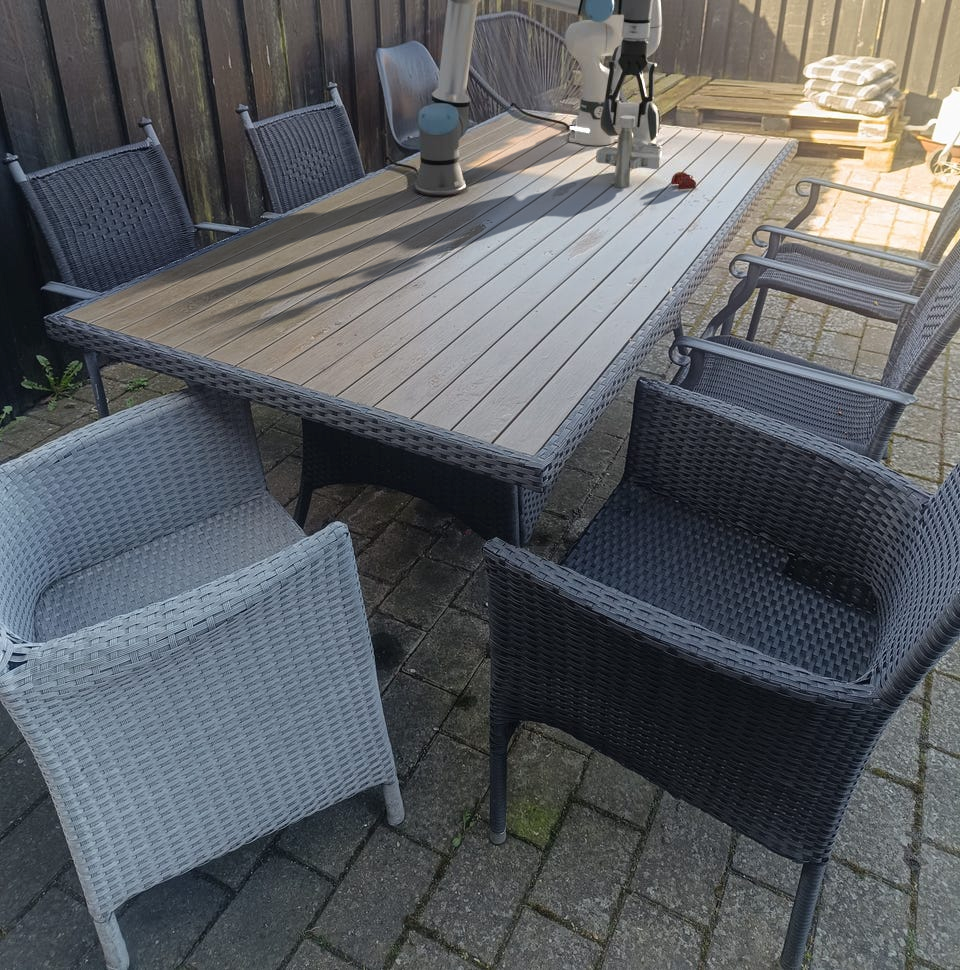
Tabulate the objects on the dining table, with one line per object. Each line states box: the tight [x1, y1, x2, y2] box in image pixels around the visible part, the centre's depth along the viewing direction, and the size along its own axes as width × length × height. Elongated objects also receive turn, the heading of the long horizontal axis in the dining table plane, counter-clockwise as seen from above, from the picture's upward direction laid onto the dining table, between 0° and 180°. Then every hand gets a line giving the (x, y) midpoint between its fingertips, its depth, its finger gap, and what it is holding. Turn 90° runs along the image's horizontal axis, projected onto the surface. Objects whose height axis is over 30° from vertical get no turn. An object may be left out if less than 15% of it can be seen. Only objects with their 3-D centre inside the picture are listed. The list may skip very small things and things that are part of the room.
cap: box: [620, 115, 635, 128], centre depth 251 cm, size 4×4×3 cm
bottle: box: [613, 127, 633, 189], centre depth 257 cm, size 5×5×19 cm
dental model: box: [670, 171, 697, 190], centre depth 260 cm, size 6×4×8 cm
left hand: (627, 125), depth 252 cm, fingers open, 7 cm apart
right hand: (622, 164), depth 258 cm, fingers closed on bottle, 4 cm apart
